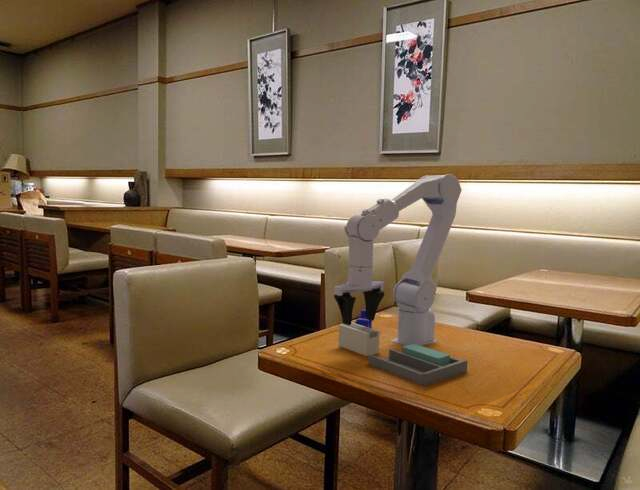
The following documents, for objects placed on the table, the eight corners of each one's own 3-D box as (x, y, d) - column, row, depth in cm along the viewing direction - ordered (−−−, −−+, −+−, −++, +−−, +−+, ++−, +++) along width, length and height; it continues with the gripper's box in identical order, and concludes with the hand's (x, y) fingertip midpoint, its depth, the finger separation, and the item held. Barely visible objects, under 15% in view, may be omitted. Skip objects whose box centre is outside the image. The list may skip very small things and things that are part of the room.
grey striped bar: (350, 345, 122) (350, 321, 121) (379, 356, 114) (379, 330, 113) (338, 348, 119) (338, 323, 119) (366, 359, 111) (367, 333, 111)
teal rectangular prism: (413, 356, 112) (414, 343, 111) (449, 368, 104) (450, 355, 104) (401, 359, 109) (402, 346, 109) (437, 372, 101) (438, 358, 101)
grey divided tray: (409, 354, 115) (410, 342, 114) (466, 374, 102) (467, 360, 102) (368, 366, 106) (368, 353, 106) (425, 389, 94) (425, 374, 93)
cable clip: (355, 329, 137) (356, 309, 136) (371, 330, 136) (372, 310, 135) (350, 341, 125) (351, 319, 124) (367, 343, 124) (368, 320, 124)
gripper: (370, 262, 122) (368, 314, 123) (326, 265, 113) (324, 322, 114) (390, 265, 117) (388, 320, 118) (346, 269, 108) (344, 329, 109)
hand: (358, 321), depth 116 cm, fingers open, 7 cm apart
